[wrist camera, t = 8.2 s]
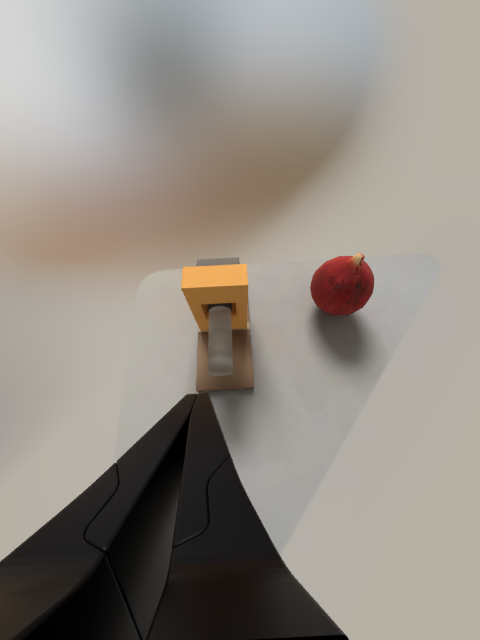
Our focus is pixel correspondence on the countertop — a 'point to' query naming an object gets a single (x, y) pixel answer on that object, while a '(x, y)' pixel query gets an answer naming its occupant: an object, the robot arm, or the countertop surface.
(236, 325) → the collar
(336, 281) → the onion
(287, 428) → the countertop surface
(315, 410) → the countertop surface
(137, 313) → the countertop surface
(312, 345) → the countertop surface
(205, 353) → the pipe stand
